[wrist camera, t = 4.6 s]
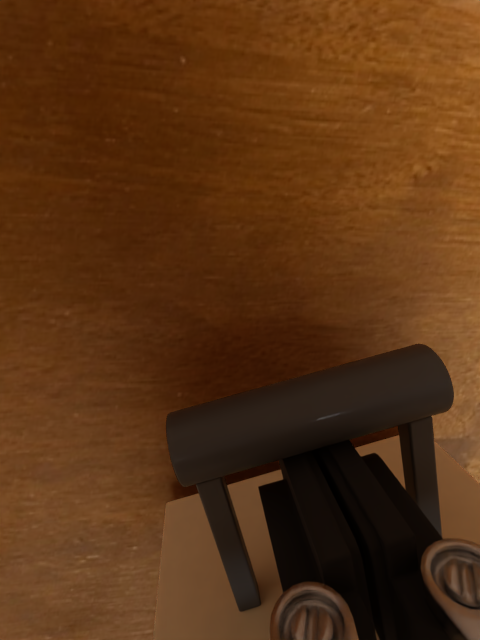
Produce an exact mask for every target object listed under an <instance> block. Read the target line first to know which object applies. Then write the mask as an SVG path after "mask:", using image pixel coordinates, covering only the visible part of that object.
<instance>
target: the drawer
mask: <svg viewBox="0 0 480 640" xmlns="http://www.w3.org/2000/svg"><path fill="white" fill-rule="evenodd" d="M453 399H454V392H453V386H452V382H451V378H450V376H449V373H448V371H447V369H446V367H445V365H444V363H443V362H442V360H441V359H440V357H439V356H438V355H437V354H436V353H435V352H434V351H433V350H432V349H431V348H429V347H428V346H426V345H423V344H415V345H411V346H408V347H404V348H401V349H397V350H393V351H390V352H386V353H383V354H379V355H375V356H372V357H368V358H365V359H361V360H357V361H354V362H350V363H347V364H343V365H339V366H336V367H332V368H329V369H325V370H322V371H318V372H314V373H311V374H307V375H304V376H300V377H296V378H293V379H289V380H286V381H282V382H278V383H275V384H271V385H268V386H264V387H261V388H257V389H253V390H250V391H246V392H243V393H239V394H235V395H232V396H228V397H225V398H221V399H217V400H214V401H210V402H207V403H203V404H199V405H196V406H192V407H189V408H185V409H182V410H178V411H174V412H171V413H169V414H168V416H167V421H166V433H167V442H168V448H169V453H170V458H171V462H172V465H173V468H174V471H175V474H176V477H177V479H178V481H179V482H180V484H181V485H182V486H183V487H187V486H191V485H194V484H196V487H197V490H198V494H195V495H191V496H188V497H184V498H181V499H177V500H174V501H171V502H167V503H166V507H165V518H164V528H163V539H162V550H161V560H160V571H159V582H158V592H157V603H156V614H155V624H154V635H153V640H270V619H271V613H272V611H273V608H274V606H275V603H276V601H277V600H278V599H279V597H280V596H281V595H282V593H283V590H282V586H281V582H280V578H279V574H278V569H277V565H276V561H275V557H274V552H273V548H272V544H271V540H270V536H269V531H268V527H267V523H266V519H265V515H264V510H263V506H262V502H261V498H260V493H259V489H258V486H262V485H265V484H269V483H272V482H276V481H279V480H282V479H283V476H282V472H281V470H277V471H274V472H270V473H267V474H263V475H260V476H256V477H253V478H250V479H246V480H243V481H239V482H236V483H232V484H229V485H227V483H226V480H225V477H224V476H225V475H229V474H232V473H236V472H239V471H243V470H246V469H250V468H253V467H256V466H260V465H263V464H267V463H270V462H274V461H277V460H281V459H284V458H288V457H291V456H294V455H298V454H301V453H305V452H308V451H312V450H315V449H319V448H322V447H326V446H329V445H332V444H336V443H339V442H343V441H346V440H350V439H353V438H357V437H360V436H364V435H367V434H370V433H374V432H377V431H381V430H384V429H388V428H391V427H395V426H398V431H399V435H397V436H394V437H391V438H387V439H384V440H380V441H377V442H373V443H370V444H366V445H363V446H360V447H356V448H355V449H356V450H357V452H358V453H359V455H360V456H365V455H368V454H371V453H376V454H378V455H379V456H380V457H381V458H382V460H383V461H384V462H385V464H386V465H387V466H388V468H389V469H390V470H391V471H392V473H393V474H394V475H395V477H396V478H397V479H398V481H399V482H400V483H401V485H402V486H403V487H404V488H405V490H406V491H407V492H408V494H409V495H410V496H411V498H412V499H413V500H414V501H415V503H416V504H417V505H418V507H419V508H420V509H421V511H422V512H423V513H424V514H425V516H426V517H427V518H428V520H429V521H430V522H431V524H432V525H433V526H434V527H435V529H436V530H437V531H438V533H439V534H440V535H441V537H442V538H443V539H445V538H459V539H463V540H468V541H472V542H474V543H477V544H479V545H480V484H479V483H478V482H477V481H476V480H475V479H474V478H473V477H472V476H471V475H470V474H469V473H468V472H467V471H465V470H464V469H463V468H462V467H461V466H460V465H459V464H458V463H457V462H456V461H455V460H454V459H453V458H452V457H451V456H450V455H449V454H447V453H446V452H445V451H444V450H443V449H442V448H441V447H440V446H439V445H438V444H437V443H436V442H435V441H434V434H433V423H432V417H431V416H433V415H436V414H440V413H443V412H446V411H448V410H449V409H450V408H451V406H452V404H453ZM375 632H376V630H375ZM376 638H377V640H379V637H378V635H377V633H376Z"/></svg>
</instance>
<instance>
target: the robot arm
mask: <svg viewBox="0 0 480 640" xmlns="http://www.w3.org/2000/svg"><path fill="white" fill-rule="evenodd" d="M279 464H280V468H281V472H282V476H283V479H282V480H279V481H276V482H272V483H269V484H265V485H262V486H258V489H259V493H260V498H261V502H262V506H263V510H264V515H265V519H266V523H267V527H268V531H269V536H270V540H271V544H272V548H273V552H274V557H275V561H276V565H277V569H278V574H279V578H280V582H281V586H282V590H283V593H282V595H281V596H280V597H279V599H278V600H277V601H276V603H275V606H274V608H273V611H272V613H271V619H270V640H377V638H376V633H377V635H378V637H379V640H480V545H479V544H477V543H474V542H472V541H468V540H463V539H459V538H445V539H443V538H442V537H441V535H440V534H439V533H438V531H437V530H436V529H435V527H434V526H433V525H432V524H431V522H430V521H429V520H428V518H427V517H426V516H425V514H424V513H423V512H422V511H421V509H420V508H419V507H418V505H417V504H416V503H415V501H414V500H413V499H412V498H411V496H410V495H409V494H408V492H407V491H406V490H405V488H404V487H403V486H402V485H401V483H400V482H399V481H398V479H397V478H396V477H395V475H394V474H393V473H392V471H391V470H390V469H389V468H388V466H387V465H386V464H385V462H384V461H383V460H382V458H381V457H380V456H379V455H378V454H376V453H371V454H368V455H365V456H360V455H359V453H358V452H357V450H356V449H355V448H354V446H353V445H352V443H351V442H350V440H346V441H343V442H339V443H336V444H332V445H329V446H326V447H322V448H319V449H315V450H312V451H308V452H305V453H301V454H298V455H294V456H291V457H288V458H284V459H281V460H279ZM375 630H376V632H375Z"/></svg>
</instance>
